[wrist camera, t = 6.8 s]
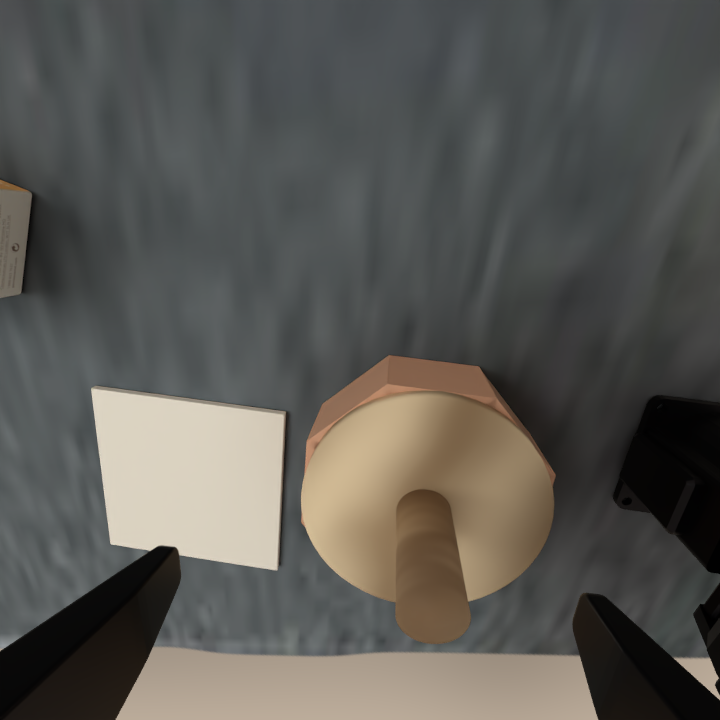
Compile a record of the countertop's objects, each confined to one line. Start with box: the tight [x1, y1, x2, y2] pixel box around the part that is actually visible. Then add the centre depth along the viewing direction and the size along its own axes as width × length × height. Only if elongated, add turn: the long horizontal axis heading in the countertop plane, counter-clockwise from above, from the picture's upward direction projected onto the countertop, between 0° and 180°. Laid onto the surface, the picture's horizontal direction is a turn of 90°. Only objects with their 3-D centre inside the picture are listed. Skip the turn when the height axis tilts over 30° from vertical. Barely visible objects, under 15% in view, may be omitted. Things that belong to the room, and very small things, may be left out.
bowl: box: [301, 355, 556, 526], centre depth 20 cm, size 11×11×4 cm
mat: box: [91, 386, 286, 570], centre depth 24 cm, size 11×11×1 cm
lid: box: [301, 390, 554, 644], centre depth 16 cm, size 11×11×6 cm
